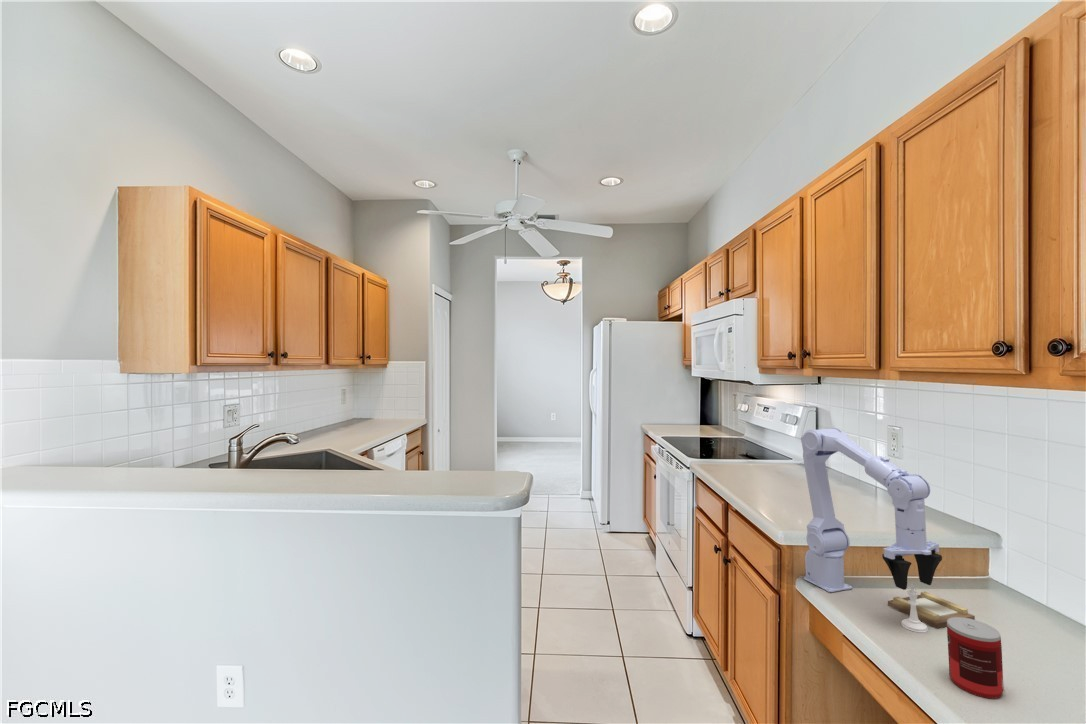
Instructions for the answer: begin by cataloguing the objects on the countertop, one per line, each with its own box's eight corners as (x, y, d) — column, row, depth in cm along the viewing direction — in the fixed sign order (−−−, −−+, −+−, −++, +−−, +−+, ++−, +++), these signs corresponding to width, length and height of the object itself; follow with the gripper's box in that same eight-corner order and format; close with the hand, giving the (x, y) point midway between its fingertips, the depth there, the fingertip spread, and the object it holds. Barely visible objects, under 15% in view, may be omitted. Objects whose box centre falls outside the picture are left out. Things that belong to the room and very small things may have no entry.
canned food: (975, 671, 95) (972, 615, 96) (1016, 698, 87) (1013, 637, 88) (938, 673, 95) (935, 617, 95) (976, 700, 87) (972, 639, 87)
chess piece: (900, 619, 116) (898, 578, 116) (925, 624, 113) (923, 582, 113) (902, 629, 111) (900, 585, 112) (929, 634, 109) (927, 590, 109)
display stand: (887, 605, 123) (887, 596, 123) (923, 598, 126) (922, 589, 126) (937, 628, 111) (936, 618, 111) (974, 620, 114) (974, 610, 114)
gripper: (903, 535, 107) (906, 597, 107) (951, 528, 111) (954, 588, 110) (874, 526, 114) (877, 584, 113) (920, 520, 118) (923, 576, 117)
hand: (913, 585), depth 112 cm, fingers open, 7 cm apart
